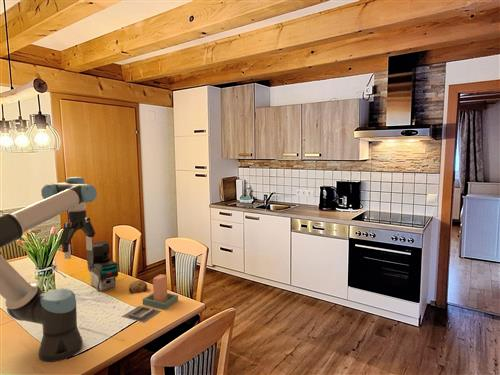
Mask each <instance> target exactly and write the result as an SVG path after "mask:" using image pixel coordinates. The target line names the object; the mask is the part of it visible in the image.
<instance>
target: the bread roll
mask: <svg viewBox="0 0 500 375" xmlns="http://www.w3.org/2000/svg"><path fill="white" fill-rule="evenodd" d="M147 290H148V285H147V282H146V281H144V280H141V279H138V280H133V281H132V282H130V284H129V287H128V291H129V294H132V295H134V294H138V293H139V294H140V293H145V292H146V291H147Z"/></svg>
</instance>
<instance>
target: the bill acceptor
mask: <svg viewBox="0 0 500 375" xmlns="http://www.w3.org/2000/svg"><path fill="white" fill-rule="evenodd" d="M109 254H110V245H109V243H108V241H106V240H102V241H95V242H92V250H86V257H87V259H86V261H87V271H88V272H90V285H91V286H93V287H95V289H97V290H96V291H97V292H107V291H111V290H114V289H115V288H116V287H117V284H116V283H117V280H116V278H118V276H119V264H118V262H115V261H114V260H111V258H110V256H109Z"/></svg>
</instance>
